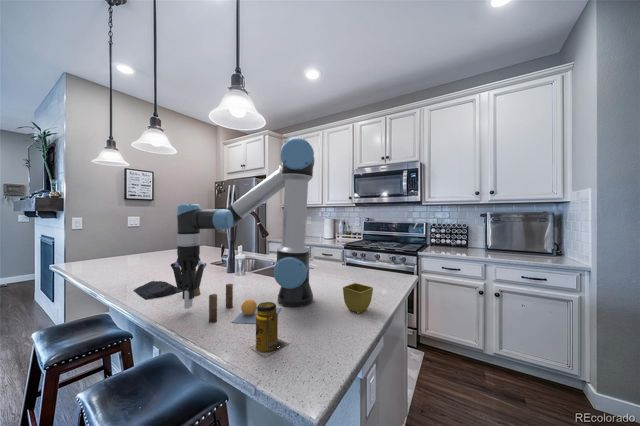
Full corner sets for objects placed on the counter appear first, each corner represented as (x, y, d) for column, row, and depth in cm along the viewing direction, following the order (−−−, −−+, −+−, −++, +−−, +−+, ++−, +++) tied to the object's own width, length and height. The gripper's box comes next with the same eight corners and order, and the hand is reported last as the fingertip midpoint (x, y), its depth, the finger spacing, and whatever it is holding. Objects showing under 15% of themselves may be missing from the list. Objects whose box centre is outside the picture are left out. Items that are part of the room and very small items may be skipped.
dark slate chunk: (166, 284, 130) (166, 275, 130) (184, 293, 116) (184, 283, 116) (130, 291, 118) (130, 281, 118) (146, 302, 104) (146, 291, 104)
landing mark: (281, 308, 97) (281, 307, 97) (271, 324, 83) (271, 323, 83) (246, 307, 98) (246, 306, 98) (231, 322, 84) (231, 322, 84)
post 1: (218, 319, 86) (218, 294, 86) (214, 322, 84) (214, 296, 84) (211, 319, 87) (211, 293, 87) (207, 322, 84) (207, 296, 84)
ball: (243, 299, 94) (247, 313, 94) (236, 304, 88) (241, 319, 88) (256, 295, 93) (260, 309, 93) (251, 300, 88) (255, 315, 88)
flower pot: (373, 310, 96) (373, 287, 96) (361, 317, 89) (361, 292, 89) (354, 304, 102) (355, 282, 102) (341, 310, 95) (342, 287, 95)
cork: (194, 297, 109) (194, 272, 109) (182, 296, 110) (182, 271, 110) (203, 293, 115) (203, 269, 115) (191, 292, 116) (192, 268, 116)
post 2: (233, 306, 99) (233, 283, 99) (230, 308, 96) (231, 285, 96) (227, 305, 99) (227, 283, 99) (224, 308, 97) (224, 285, 97)
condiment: (249, 347, 69) (249, 305, 69) (273, 336, 75) (273, 297, 75) (265, 357, 64) (265, 312, 64) (289, 344, 71) (289, 302, 71)
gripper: (210, 243, 96) (210, 304, 96) (178, 243, 97) (178, 303, 97) (199, 246, 88) (199, 312, 88) (165, 245, 89) (165, 310, 89)
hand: (188, 307), depth 93 cm, fingers closed
